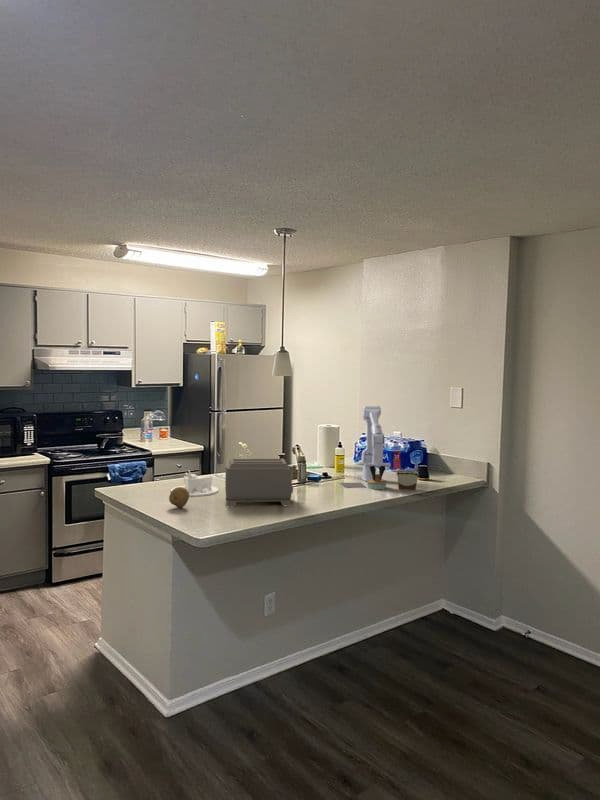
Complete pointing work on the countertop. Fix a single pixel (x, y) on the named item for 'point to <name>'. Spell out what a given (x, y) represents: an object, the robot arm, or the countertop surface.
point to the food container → (407, 479)
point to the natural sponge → (179, 497)
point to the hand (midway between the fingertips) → (377, 479)
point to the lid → (377, 480)
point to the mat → (352, 484)
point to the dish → (198, 485)
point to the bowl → (377, 486)
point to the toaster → (258, 481)
